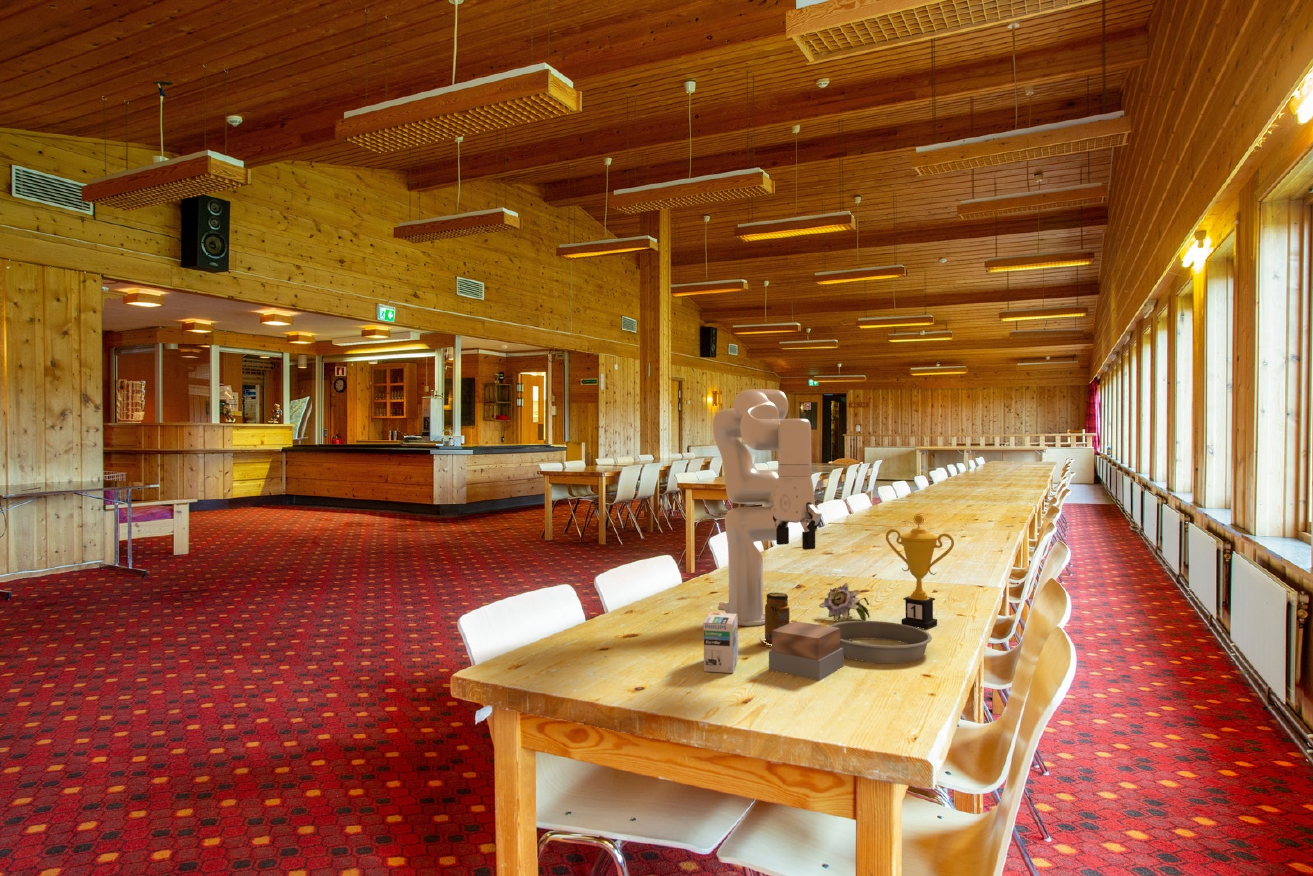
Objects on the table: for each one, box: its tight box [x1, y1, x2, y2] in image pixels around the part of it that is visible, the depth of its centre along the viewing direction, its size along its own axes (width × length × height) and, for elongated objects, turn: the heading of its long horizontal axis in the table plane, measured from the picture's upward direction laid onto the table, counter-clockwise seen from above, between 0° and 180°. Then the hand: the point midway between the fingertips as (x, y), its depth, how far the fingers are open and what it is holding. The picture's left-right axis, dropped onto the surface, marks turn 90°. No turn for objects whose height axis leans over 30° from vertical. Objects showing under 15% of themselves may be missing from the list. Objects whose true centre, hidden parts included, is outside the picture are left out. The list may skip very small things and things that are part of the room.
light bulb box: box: [703, 611, 739, 674], centre depth 166 cm, size 11×7×11 cm, turn 168°
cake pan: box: [829, 620, 933, 664], centre depth 178 cm, size 25×25×4 cm
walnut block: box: [771, 620, 840, 660], centre depth 164 cm, size 11×11×4 cm
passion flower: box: [818, 582, 871, 622], centre depth 210 cm, size 11×11×12 cm
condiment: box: [759, 592, 791, 648], centre depth 185 cm, size 7×8×12 cm
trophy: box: [885, 514, 955, 630], centre depth 202 cm, size 19×10×30 cm, turn 45°
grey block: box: [768, 648, 845, 682], centre depth 164 cm, size 12×12×4 cm
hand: (795, 546), depth 171 cm, fingers open, 9 cm apart
